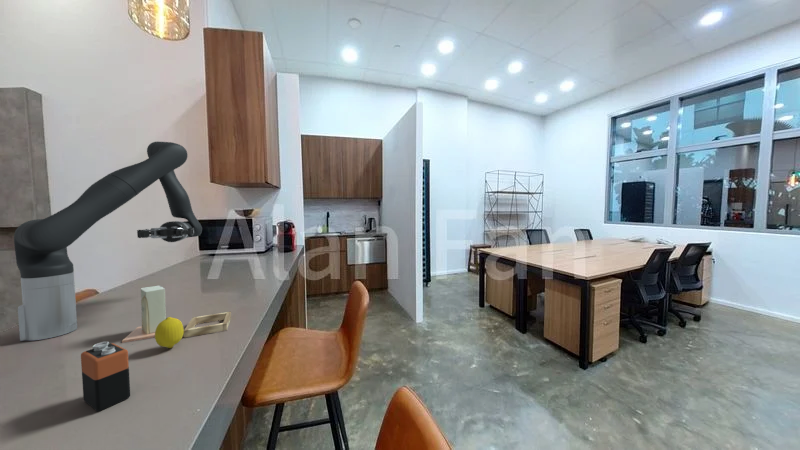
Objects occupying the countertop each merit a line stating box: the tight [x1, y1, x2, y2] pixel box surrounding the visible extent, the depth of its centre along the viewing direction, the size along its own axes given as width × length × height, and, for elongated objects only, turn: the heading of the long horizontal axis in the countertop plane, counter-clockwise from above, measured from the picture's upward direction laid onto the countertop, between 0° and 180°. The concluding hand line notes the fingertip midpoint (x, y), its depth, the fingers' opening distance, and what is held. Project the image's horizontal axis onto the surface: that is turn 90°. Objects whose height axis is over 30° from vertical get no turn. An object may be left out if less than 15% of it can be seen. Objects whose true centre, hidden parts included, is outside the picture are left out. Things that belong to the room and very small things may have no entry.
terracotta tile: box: [121, 325, 155, 344], centre depth 78 cm, size 10×10×1 cm
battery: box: [80, 341, 131, 412], centre depth 49 cm, size 4×7×10 cm, turn 63°
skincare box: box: [140, 284, 167, 334], centre depth 78 cm, size 6×4×12 cm
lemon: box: [154, 316, 185, 349], centre depth 68 cm, size 6×6×8 cm
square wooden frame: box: [183, 311, 232, 339], centre depth 80 cm, size 10×11×2 cm
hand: (160, 233), depth 86 cm, fingers open, 8 cm apart
